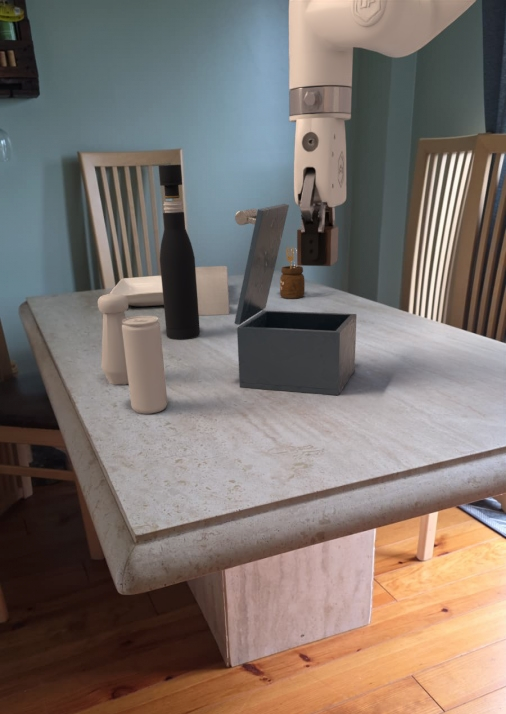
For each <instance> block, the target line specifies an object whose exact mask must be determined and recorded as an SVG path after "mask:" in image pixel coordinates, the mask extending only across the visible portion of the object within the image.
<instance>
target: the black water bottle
mask: <svg viewBox="0 0 506 714" xmlns="http://www.w3.org/2000/svg"><path fill="white" fill-rule="evenodd" d="M158 174H159V175H158V177H159V185H160V186H161V187H162V186H163V189H164V199H165V200H166V199H167V200H166V201H163V211H164V212H163V213H162V217H163V218H162V219H163V234H162V238H161V242H160V250H159V268H160V276H161V279H162V290H163V301H164V305H163V311H164V321H165V322H164V323H165V331H166V333H165V334H166V337H167V338H169V339H171V340H191V339H194V338H197V337H199V336H200V335H201V330H200V329H201V328H200V315H199V312H198V298H197V284H196V269H195V267H196V257H195V253H194V249H193V245H192V242H191V239H190V237H189V234H188V232H187V229H186V220H185V219H186V218H185V212H184V211H183V207H182V205H183V203H182V200H172V199H179V198H181V196H180V189H179V186H183V175H182V165H181V164H161V165H158ZM170 199H171V200H170Z"/></svg>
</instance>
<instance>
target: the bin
mask: <svg viewBox="0 0 506 714" xmlns="http://www.w3.org/2000/svg"><path fill="white" fill-rule="evenodd" d="M236 330H237V331H236V336H237V337H236V338H237V357H238V358H237V359H238V378H239V379H238V380H239V388H244V389H256V390H269V391H282V392H294V393H307V394H318V395H330V396H339V395H340V394H341V392H342V390H343V389H344V387H346V384H347V383H348V382H349V380H350V379H351V377H352V376H353V374H354V372H355V371H356V369H355V368H356V343H357V341H356V340H357V313H344V312H343V313H342V312H339V313H338V312H318V311H317V312H316V311H315V312H314V311H290V310H289V311H288V310H287V311H286V310H265V309H263V310H262V311H260V312H258V313H257V314H255V315H254V316H252V317H251V318H249V319H248V320H246V321H245V322H243V323H241V324H240V325H238V326H237V327H236Z"/></svg>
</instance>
